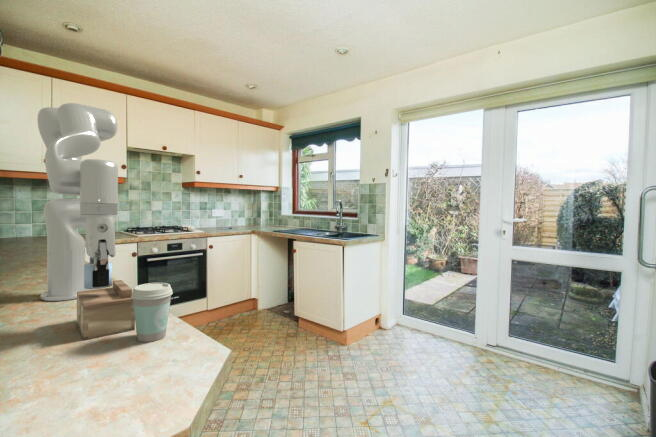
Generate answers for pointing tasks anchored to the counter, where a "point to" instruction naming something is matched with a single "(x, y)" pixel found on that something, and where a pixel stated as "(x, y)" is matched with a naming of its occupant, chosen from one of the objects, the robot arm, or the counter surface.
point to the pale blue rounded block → (88, 276)
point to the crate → (105, 320)
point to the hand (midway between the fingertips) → (98, 283)
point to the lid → (106, 296)
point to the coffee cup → (151, 310)
